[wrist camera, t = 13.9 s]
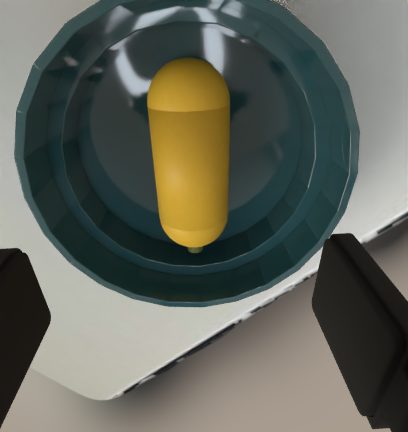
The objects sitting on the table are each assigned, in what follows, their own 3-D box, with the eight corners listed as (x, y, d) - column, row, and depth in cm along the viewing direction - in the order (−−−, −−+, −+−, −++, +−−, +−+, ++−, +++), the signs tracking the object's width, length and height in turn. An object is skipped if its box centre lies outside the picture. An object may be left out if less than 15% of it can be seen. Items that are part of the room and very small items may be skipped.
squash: (142, 57, 19) (141, 61, 15) (220, 54, 20) (241, 57, 16) (161, 235, 26) (164, 273, 22) (220, 229, 27) (234, 264, 22)
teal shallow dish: (79, -58, 17) (25, -106, 12) (368, 62, 21) (434, 70, 15) (48, 222, 26) (8, 272, 20) (256, 274, 29) (271, 329, 24)
